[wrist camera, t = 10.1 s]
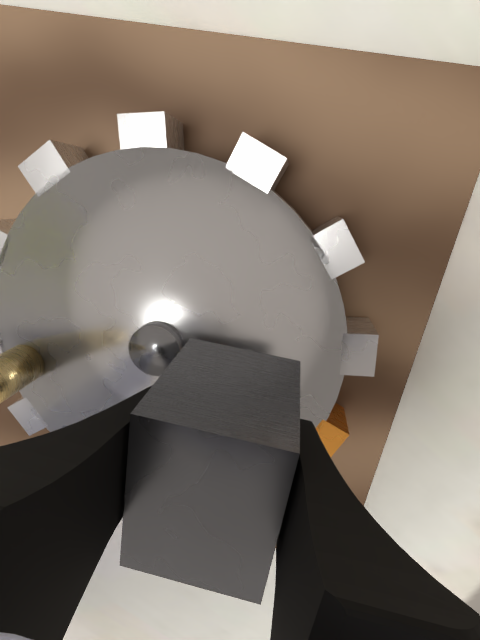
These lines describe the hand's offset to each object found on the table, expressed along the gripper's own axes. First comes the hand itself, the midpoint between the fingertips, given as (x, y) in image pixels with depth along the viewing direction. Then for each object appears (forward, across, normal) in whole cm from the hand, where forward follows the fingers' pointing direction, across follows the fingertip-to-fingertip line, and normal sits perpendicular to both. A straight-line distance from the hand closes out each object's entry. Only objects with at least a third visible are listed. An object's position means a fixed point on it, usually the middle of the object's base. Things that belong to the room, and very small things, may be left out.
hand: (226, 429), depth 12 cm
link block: (+2, 0, 0) cm, 2 cm away
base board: (+6, +3, -1) cm, 7 cm away
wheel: (+4, +3, -1) cm, 6 cm away
